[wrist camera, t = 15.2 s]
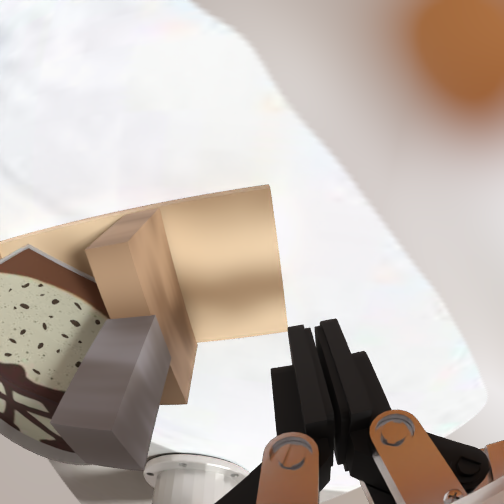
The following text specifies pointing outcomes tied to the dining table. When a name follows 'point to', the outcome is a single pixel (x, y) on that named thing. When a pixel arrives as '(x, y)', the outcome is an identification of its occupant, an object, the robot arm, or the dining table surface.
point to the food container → (42, 345)
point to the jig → (200, 258)
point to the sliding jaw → (129, 348)
